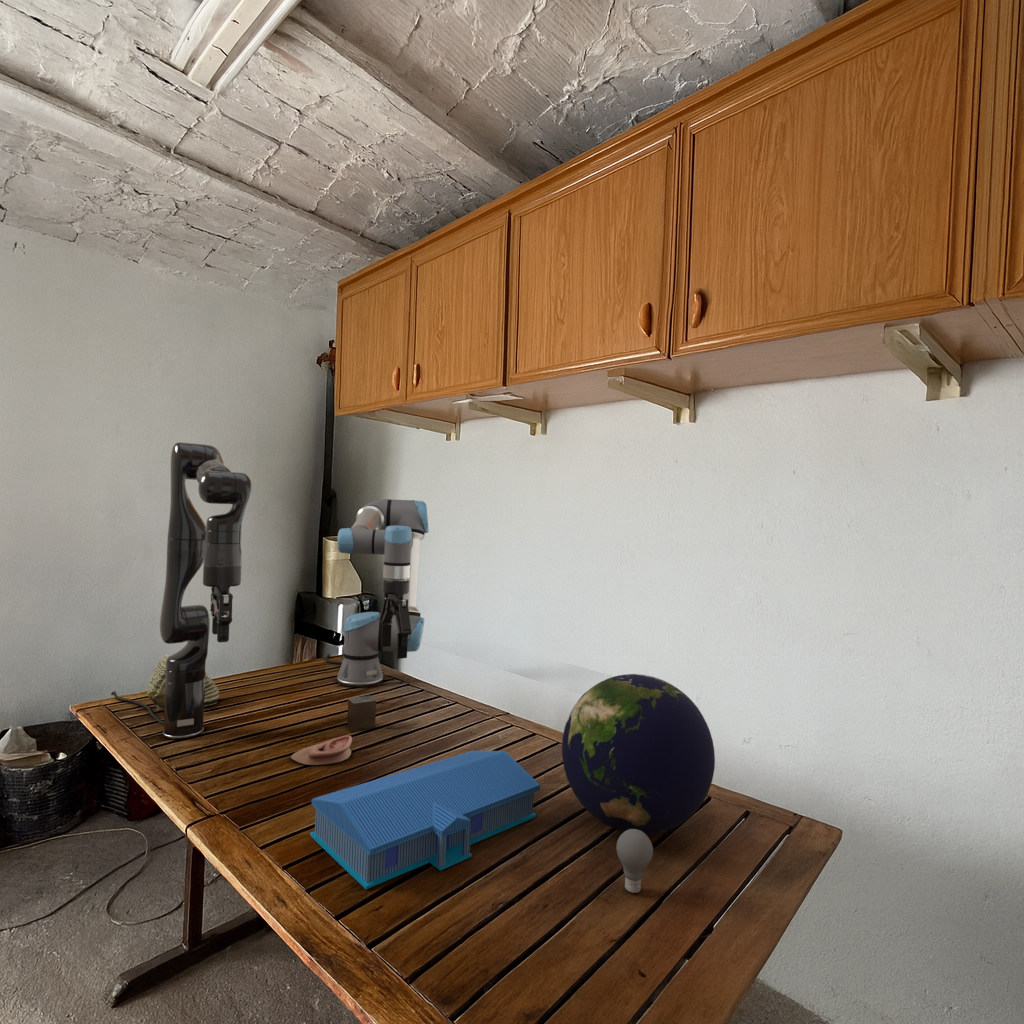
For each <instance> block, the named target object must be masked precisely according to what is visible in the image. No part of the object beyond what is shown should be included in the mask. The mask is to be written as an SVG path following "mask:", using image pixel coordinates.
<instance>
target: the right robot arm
mask: <svg viewBox="0 0 1024 1024" xmlns="http://www.w3.org/2000/svg"><path fill="white" fill-rule="evenodd" d="M428 517H429V516H428V507H427V504H426V502H425V501H423V500H414V499H390V498H381V499H377V500H374V501H371V502H369V503H366V504H365V505H363V506H362V507H361V508H360V509H359V510H358V511H357V513H356V516H355V522H354V523H353V524H352V526H351V527H347V528H343V527H342V528H340V529H339V530H338V533H337V540H336V541H337V542H336V543H337V550H338V552H339V553H341V554H348V555H352V554H353V555H356V554H357V555H383V556H384V557H383V558H384V559H383V569H382V571H383V572H382V578H383V579H384V580H383V581H382V593H383V599H382V600H383V601H382V605H381V609H380V612H379V611H364V612H358V613H354V614H351V615H349V616H347V617H346V618H345V621H344V622H345V623H344V629H343V633H344V636H343V637H344V639H343V640H344V641H343V659H342V661H339V660H338V661H337V660H330V658H331V654H330V653H328V654H326V656H325V657H324V660H325V662H326V663H328V664H335V665H340V668H339V671H338V673H337V677H336V682H337V683H338V684H339V686H343V687H349V688H367V687H374V686H377V685H380V684H381V683H383V681H384V674H383V670H382V667H381V663H380V659H379V652H389V653H391V652H394V653H395V652H396V659H397V660H401V659H407V658H408V653H413V652H417V651H418V650H419V649H420V647H421V642H422V638H423V632H424V624H425V618H424V617H421V615H422V614H421V611H420V610H419V609H418V608H417V607H418V589H419V588H418V586H419V585H418V584H419V568H420V567H419V566H420V550H421V549H420V547H421V542H422V540H424V539H425V534H427V533H429V530H430V529H429V519H428Z"/></svg>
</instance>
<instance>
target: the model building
mask: <svg viewBox="0 0 1024 1024" xmlns="http://www.w3.org/2000/svg"><path fill="white" fill-rule="evenodd" d="M538 791H541V784H540V783H539V782H538V781H537V780H536V779H535V778H534V777H533V776H532V775H531V774H530V773H529V772H527V771H526V769H524V768H523V766H521V764H519V762H517V761H516V760H515V759H514V757H512V756H511V755H510V754H509V753H508V752H507V750H471V751H467V752H464V753H460V754H457V755H454V756H449V757H447V758H444V759H441V760H437V761H434V762H431V763H427V764H423V765H420V766H417V767H414V768H410V769H407V770H403V771H400V772H397V773H394V774H390V775H387V776H384V777H381V778H380V777H379V778H377V779H374V780H371V781H366V782H364V783H360V784H357V785H354V786H350V787H347V788H344V789H339V790H337V791H334V792H330V793H327V794H324V795H319V796H316V797H314V798H311V806H313V807H314V808H315V817H314V831H311V832H310V833H309V836H310V838H312V839H313V840H314V841H315V842H316V843H317V845H319V846H320V847H321V848H322V849H323V850H325V852H326V853H327V854H329V856H330V857H331V858H333V859H334V860H335V861H336V862H337V863H338V864H339V865H340V866H341V867H342V868H343V869H344V870H345V871H346V872H347V874H349V875H350V876H351V877H352V878H353V879H354V880H355V881H356V882H357V883H359V885H361V886H362V887H363V888H364V890H369V889H371V888H373V887H375V886H378V885H381V884H382V883H385V882H388V881H389V880H392V879H394V878H397V877H399V876H402V875H404V874H406V873H408V872H410V871H413V870H416V869H417V868H420V867H423V866H424V865H427V864H429V863H430V864H431V865H432V866H433V867H434V868H436V869H437V870H438V871H440V872H441V871H443V870H445V869H448V868H450V867H452V866H455V865H457V864H459V863H461V862H463V861H465V860H468V859H471V858H473V853H471V852H470V851H471V846H472V845H474V844H476V843H478V842H482V841H484V840H486V839H488V838H490V837H493V836H495V835H497V834H499V833H502V832H505V831H506V830H507V831H508V830H510V829H512V828H513V827H516V826H519V825H520V824H523V823H525V822H527V821H530V820H532V819H535V818H537V817H538V814H537V813H535V812H534V798H535V797H534V796H535V792H538Z"/></svg>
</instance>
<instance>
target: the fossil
mask: <svg viewBox="0 0 1024 1024" xmlns="http://www.w3.org/2000/svg"><path fill="white" fill-rule="evenodd" d="M171 655H172V654H165V655H164V656H163V657H162V658H161V659H160V660H159V662H158V663H157V666H156V667H155V669H154V670H153V672H152V675H151V677H150V680H149V684H148V688H147V697H148V699H149V700H150V701H152V703H153V704H154V706H155V711H158V712H159V711H162V712H163V711H164V705H165V674H166V660H167V658H168V657H169V656H171ZM220 698H221V696H220V690H219V688H218V686H217V685H216V683H215V682H214V681H213V679H212V678H211V677H209V675H208V674H207V672H206V671H205V693H204V707H207V706H213V705H215V704H217V703H218V701H219V699H220Z"/></svg>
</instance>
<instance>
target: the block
mask: <svg viewBox="0 0 1024 1024" xmlns="http://www.w3.org/2000/svg"><path fill="white" fill-rule="evenodd" d="M376 715H377V699H376V698H374V697H373V696H372V695H363V696H356V697H355V696H354V697H348V698H347V717H346V719H347V720H346V727H347V728H348V729H349V730H350V732H352V733H354V732H360V731H366V730H373V729H376V717H377V716H376Z"/></svg>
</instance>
